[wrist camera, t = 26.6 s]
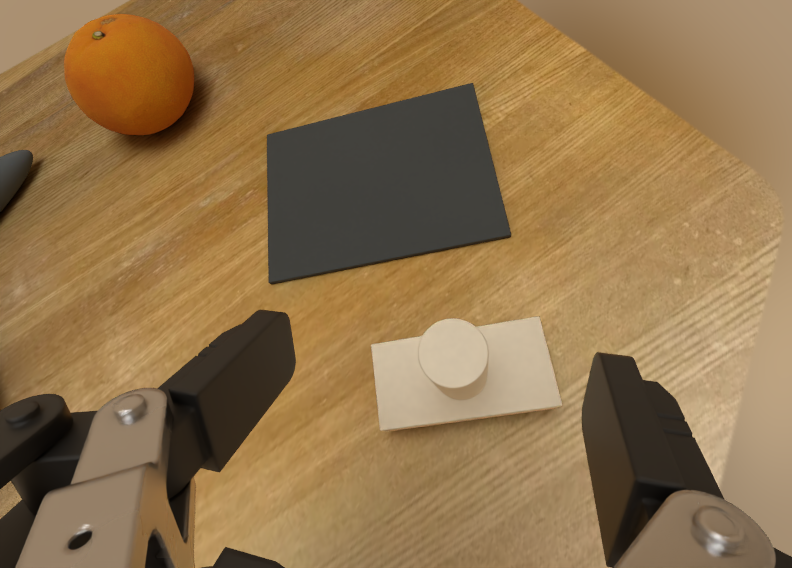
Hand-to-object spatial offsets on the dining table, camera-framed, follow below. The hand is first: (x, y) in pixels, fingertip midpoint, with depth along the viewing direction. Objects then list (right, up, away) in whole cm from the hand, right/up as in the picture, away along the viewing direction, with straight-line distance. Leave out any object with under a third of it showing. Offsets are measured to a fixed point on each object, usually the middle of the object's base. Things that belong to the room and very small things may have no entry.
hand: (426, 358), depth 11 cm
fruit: (-23, +19, +30) cm, 43 cm away
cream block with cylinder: (+3, -4, +15) cm, 16 cm away
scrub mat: (-2, +10, +22) cm, 24 cm away
